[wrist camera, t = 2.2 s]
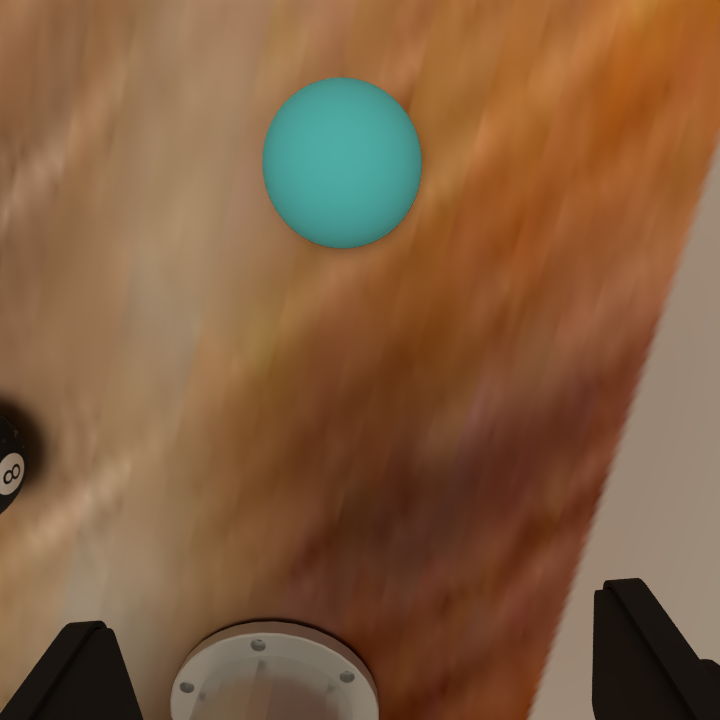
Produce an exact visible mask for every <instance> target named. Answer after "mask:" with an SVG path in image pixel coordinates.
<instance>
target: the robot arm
mask: <svg viewBox="0 0 720 720" xmlns="http://www.w3.org/2000/svg"><path fill="white" fill-rule="evenodd" d="M593 626H594V627H593V631H594V632H593V674H592V675H593V676H592V706H593V712H594V715H595V719H596V720H720V665H718V664H717V663H715V662H714V661H713V660H709V659H701V660H700V659H699V658H698V657H697V655H696V654H695V652H694V651H693V649H692V648H691V647H690V645H689V644H688V643H687V641H686V640H685V638H684V637H683V635H682V634H681V633H680V631H679V630H678V628H677V627H676V626H675V624H674V623H673V622H672V620H671V619H670V617H669V616H668V615H667V613H666V612H665V610H664V609H663V608H662V606H661V605H660V604H659V602H658V601H657V599H656V598H655V596H654V595H653V594H652V592H651V591H650V590H649V588H648V587H647V585H646V584H645V583H644V582H643V581H642V580H641V579H639V578H631V579H618V580H607V581H605V582H604V585H603V590H596V591H595V594H594V625H593ZM170 707H171V716H172V720H379V702H378V694H377V688H376V686H375V683H374V681H373V678H372V676H371V674H370V672H369V671H368V670H367V668H366V667H365V665H364V664H363V662H362V661H361V660H360V659H359V658H358V657H357V656H356V655H355V654H354V653H353V652H352V651H351V650H350V649H349V648H348V647H346V646H345V645H343V644H342V643H340V642H339V641H337V640H336V639H334V638H332V637H330V636H328V635H326V634H324V633H321V632H319V631H317V630H315V629H311V628H308V627H304V626H301V625H297V624H291V623H283V622H252V623H247V624H242V625H237V626H233V627H230V628H228V629H225V630H223V631H220V632H217V633H216V634H214V635H212V636H211V637H209V638H207V639H206V640H204V641H202V642H201V643H200V644H199V645H198V646H197V647H196V648H195V649H194V650H193V651H192V652H190V654H189V655H188V657H187V658H186V660H185V661H184V663H183V664H182V666H181V668H180V670H179V672H178V675H177V677H176V679H175V682H174V684H173V689H172V693H171V698H170ZM0 720H143V717H142V714H141V711H140V708H139V705H138V702H137V699H136V696H135V693H134V690H133V687H132V684H131V681H130V678H129V675H128V672H127V669H126V666H125V663H124V660H123V657H122V654H121V651H120V648H119V645H118V642H117V639H116V636H115V633H114V631H113V630H112V629H111V628H107V627H106V625H105V623H104V622H103V621H87V622H74V623H69V624H67V625H66V626H65V627H64V628H63V629H62V630H61V631H60V633H59V634H58V635H57V637H56V638H55V640H54V641H53V642H52V644H51V645H50V646H49V648H48V649H47V650H46V652H45V653H44V655H43V656H42V657H41V659H40V660H39V661H38V663H37V664H36V666H35V667H34V668H33V670H32V671H31V672H30V674H29V675H28V676H27V678H26V679H25V681H24V682H23V683H22V685H21V686H20V687H19V689H18V690H17V691H16V693H15V694H14V696H13V697H12V698H11V700H10V701H9V702H8V704H7V705H6V706H5V708H4V709H3V711H2V712H1V713H0Z"/></svg>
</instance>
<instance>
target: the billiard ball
mask: <svg viewBox="0 0 720 720" xmlns="http://www.w3.org/2000/svg"><path fill="white" fill-rule="evenodd" d="M27 467H28V456H27V449H26V446H25V443H24V441H23V439H22V437H21V435H20V433H19V432H18V431H17V429H16V428H15V427H14V426H13V425H12V424H11V423H10V422H9V421H8V420H7V419H5V418H4V417H2V416H1V415H0V514H1V513H2V512H3V511H5V510H6V509H7V508H8V506H9V505H10V504H11V503H12V502H13V500H14V499H15V498H16V496H17V495H18V493H19V491H20V489H21V487H22V485H23V483H24V480H25V477H26V473H27Z"/></svg>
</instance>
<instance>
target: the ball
mask: <svg viewBox="0 0 720 720" xmlns="http://www.w3.org/2000/svg"><path fill="white" fill-rule="evenodd" d="M421 172H422V155H421V148H420V143H419V139H418V136H417V133H416V130H415V128H414V126H413V123H412V122H411V120H410V118H409V116H408V115H407V113H406V112H405V111H404V109H403V108H402V107H401V105H400V104H399V103H398V102H397V101H396V100H395V99H394V98H393V97H392V96H390V95H389V94H388V93H386V92H385V91H384V90H382V89H380V88H378V87H377V86H375V85H373V84H370V83H368V82H365V81H362V80H358V79H353V78H343V77H341V78H329V79H324V80H320V81H317V82H315V83H312V84H309V85H308V86H306V87H304V88H302V89H300V90H299V91H298V92H296V93H295V94H294V95H292V96H291V97H290V98H289V99H288V100H287V101H286V102H285V103H284V104H283V106H282V107H281V108H280V109H279V111H278V112H277V114H276V115H275V117H274V119H273V120H272V122H271V125H270V127H269V129H268V132H267V135H266V139H265V143H264V149H263V175H264V180H265V185H266V189H267V191H268V194H269V197H270V199H271V201H272V203H273V205H274V207H275V209H276V210H277V212H278V213H279V215H280V216H281V218H282V219H283V220H284V221H285V222H286V223H287V225H289V226H290V227H291V228H292V229H293V230H294V231H295V232H297V233H298V234H299V235H301V236H302V237H304V238H306V239H308V240H310V241H311V242H314V243H317V244H319V245H322V246H327V247H331V248H354V247H360V246H363V245H367V244H370V243H372V242H374V241H376V240H378V239H380V238H382V237H383V236H385V235H386V234H388V233H389V232H390V231H392V230H393V229H394V228H395V227H396V226H397V225H398V224H399V223H400V222H401V221H402V220H403V218H404V217H405V215H406V214H407V213H408V211H409V210H410V208H411V206H412V204H413V202H414V200H415V197H416V194H417V192H418V188H419V184H420V180H421Z"/></svg>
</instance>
